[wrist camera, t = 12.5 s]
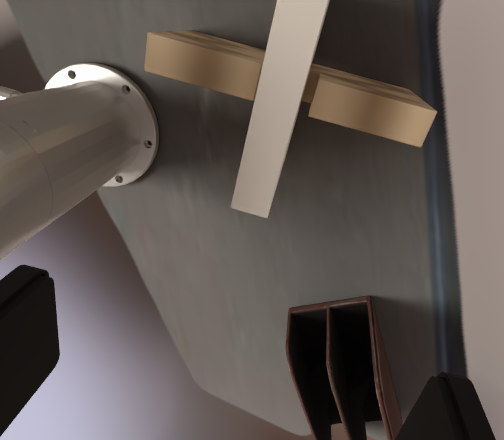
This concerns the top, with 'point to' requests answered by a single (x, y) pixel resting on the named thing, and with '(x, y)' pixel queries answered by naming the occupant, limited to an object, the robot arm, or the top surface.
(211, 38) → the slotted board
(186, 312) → the top surface
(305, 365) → the letter holder
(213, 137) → the top surface
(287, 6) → the cream angled block
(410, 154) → the top surface
